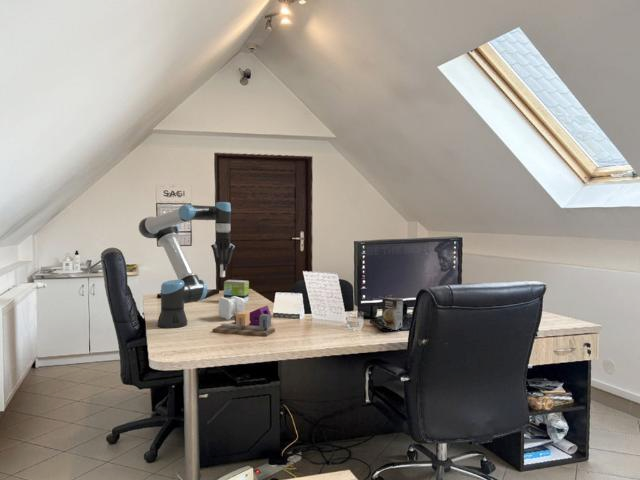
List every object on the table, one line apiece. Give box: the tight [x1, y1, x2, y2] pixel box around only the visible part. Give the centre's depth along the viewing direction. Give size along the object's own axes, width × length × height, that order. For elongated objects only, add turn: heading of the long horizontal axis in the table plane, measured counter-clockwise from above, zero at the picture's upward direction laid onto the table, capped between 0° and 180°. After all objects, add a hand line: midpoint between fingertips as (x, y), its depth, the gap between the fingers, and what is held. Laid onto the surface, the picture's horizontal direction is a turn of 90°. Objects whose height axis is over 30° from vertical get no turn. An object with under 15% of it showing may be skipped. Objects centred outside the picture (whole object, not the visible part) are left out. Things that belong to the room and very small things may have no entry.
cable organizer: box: [218, 296, 246, 321], centre depth 278 cm, size 15×11×12 cm
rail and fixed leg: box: [220, 314, 272, 331], centre depth 243 cm, size 26×6×8 cm, turn 74°
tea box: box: [223, 279, 250, 303], centre depth 334 cm, size 15×10×15 cm
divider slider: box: [235, 311, 251, 329], centre depth 243 cm, size 5×6×7 cm
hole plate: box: [211, 325, 276, 337], centre depth 243 cm, size 29×11×2 cm, turn 74°
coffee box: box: [381, 296, 404, 330], centre depth 253 cm, size 9×6×16 cm
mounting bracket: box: [234, 305, 272, 326], centre depth 262 cm, size 10×9×19 cm
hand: (222, 276), depth 254 cm, fingers closed
